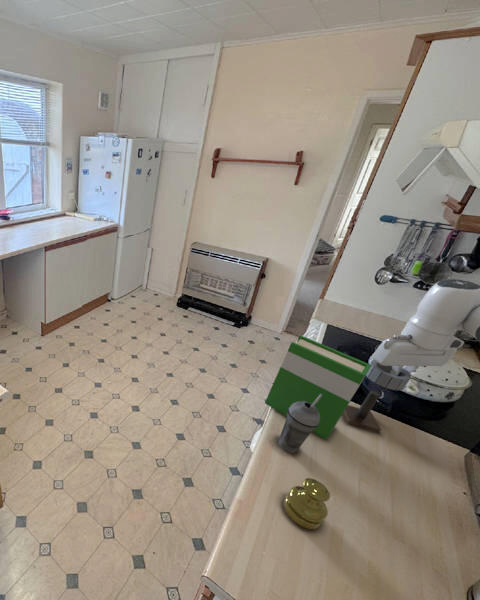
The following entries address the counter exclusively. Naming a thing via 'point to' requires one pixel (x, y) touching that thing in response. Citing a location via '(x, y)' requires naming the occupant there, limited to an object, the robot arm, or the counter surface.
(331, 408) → the hardback book
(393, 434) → the counter surface
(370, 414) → the peg stand
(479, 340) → the robot arm
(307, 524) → the brass knobbed weight
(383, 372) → the grey faceted ring
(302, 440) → the beverage cup
